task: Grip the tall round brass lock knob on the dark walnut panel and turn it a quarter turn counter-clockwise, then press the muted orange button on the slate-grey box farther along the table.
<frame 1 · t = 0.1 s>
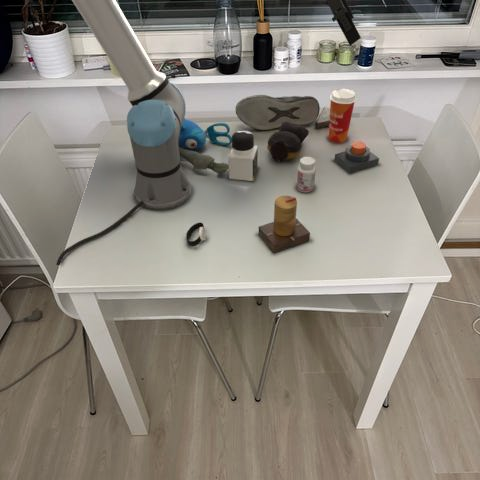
hand: (351, 30, 110), 36 cm above the table, tool tilted 35°, fingers open, 13 cm apart
scissors: (230, 134, 144), point 4 cm above the table
figurine: (277, 153, 136), point 4 cm above the table
button: (358, 148, 136), point 5 cm above the table, slide at 0.1 cm
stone: (330, 128, 157), on the table
pill bottle: (304, 188, 131), on the table
button box: (355, 162, 139), on the table
medicine bottle: (243, 174, 137), on the table
watch: (196, 239, 118), on the table
shoe: (279, 113, 149), point 5 cm above the table
statue: (144, 141, 142), point 4 cm above the table, touching toy
toy: (181, 116, 141), point 9 cm above the table, touching statue
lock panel: (283, 237, 117), on the table
paper cup: (337, 139, 149), on the table
lock knob: (285, 215, 112), point 7 cm above the table, hinge at 0.0°
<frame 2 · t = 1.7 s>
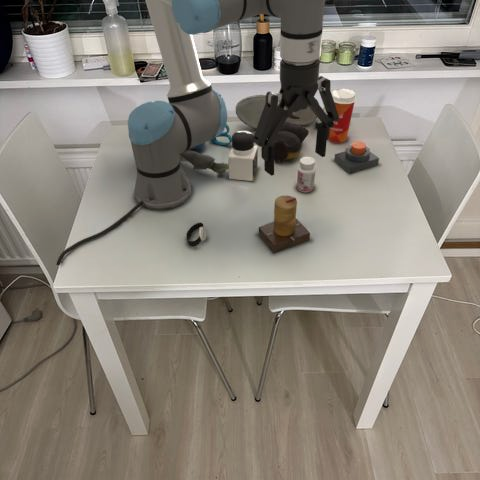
hand: (295, 163, 104), 19 cm above the table, tool pointing down, fingers open, 13 cm apart
nothing on the table moved.
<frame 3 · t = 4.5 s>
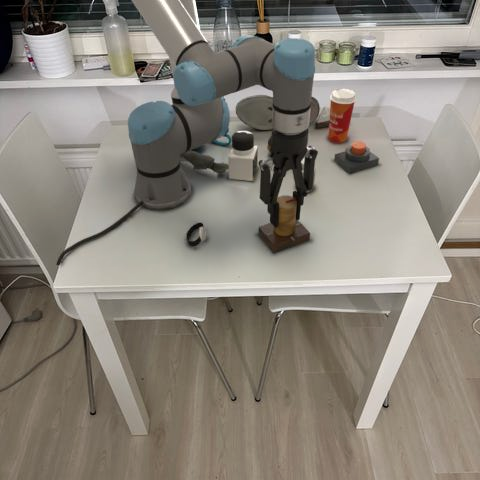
hand: (284, 220, 113), 5 cm above the table, tool pointing down, fingers closed on lock knob, 5 cm apart
lock knob: (285, 215, 112), point 7 cm above the table, hinge at -0.1°, touching gripper
everything else where it was.
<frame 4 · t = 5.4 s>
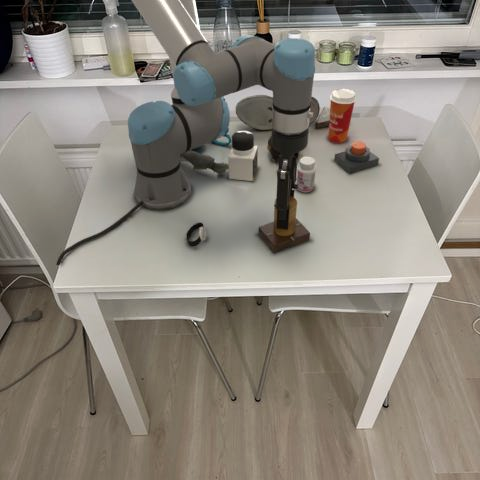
hand: (284, 220, 113), 5 cm above the table, tool pointing down, fingers closed on lock knob, 5 cm apart
lock knob: (285, 215, 112), point 7 cm above the table, hinge at 48.5°, touching gripper
everything else where it was.
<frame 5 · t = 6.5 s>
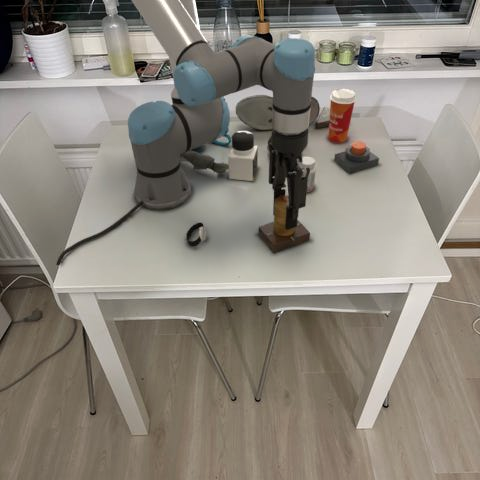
hand: (284, 220, 113), 5 cm above the table, tool pointing down, fingers closed on lock knob, 5 cm apart
statue: (144, 141, 142), point 4 cm above the table
toy: (181, 116, 141), point 9 cm above the table
lock knob: (285, 215, 112), point 7 cm above the table, hinge at 89.6°, touching gripper
everything else where it was.
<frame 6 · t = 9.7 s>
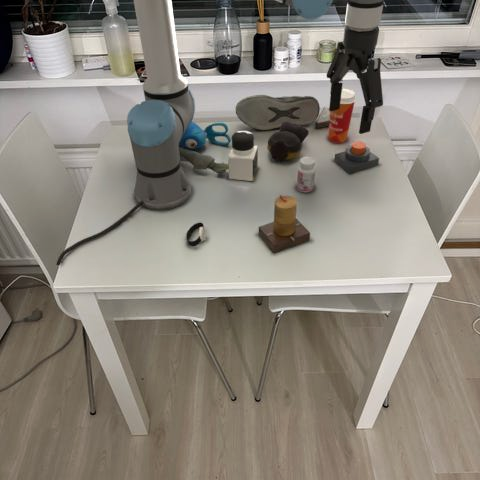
hand: (348, 120, 119), 18 cm above the table, tool pointing down, fingers open, 13 cm apart
statue: (144, 141, 142), point 4 cm above the table, touching toy
toy: (181, 116, 141), point 9 cm above the table, touching statue
lock knob: (285, 215, 112), point 7 cm above the table, hinge at 89.5°
everything else where it was.
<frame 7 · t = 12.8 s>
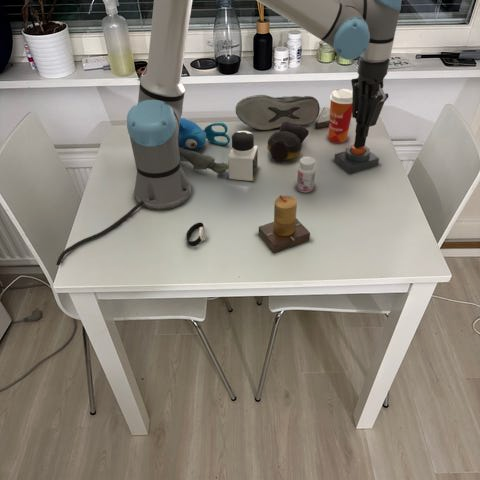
hand: (359, 145, 135), 5 cm above the table, tool pointing down, fingers closed
button: (358, 150, 136), point 4 cm above the table, slide at -0.5 cm, touching gripper
everything else where it was.
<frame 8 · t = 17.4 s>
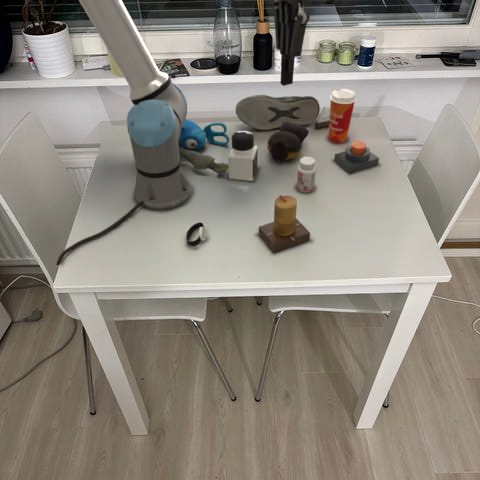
hand: (286, 83, 119), 24 cm above the table, tool pointing down, fingers closed
button: (358, 148, 136), point 5 cm above the table, slide at 0.1 cm
everything else where it was.
at the end: lock knob at +90° (first picture: +0°); button pushed in 1.0 cm at the most during the clip, back to where it started at the end; button slide at 0.1 cm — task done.
